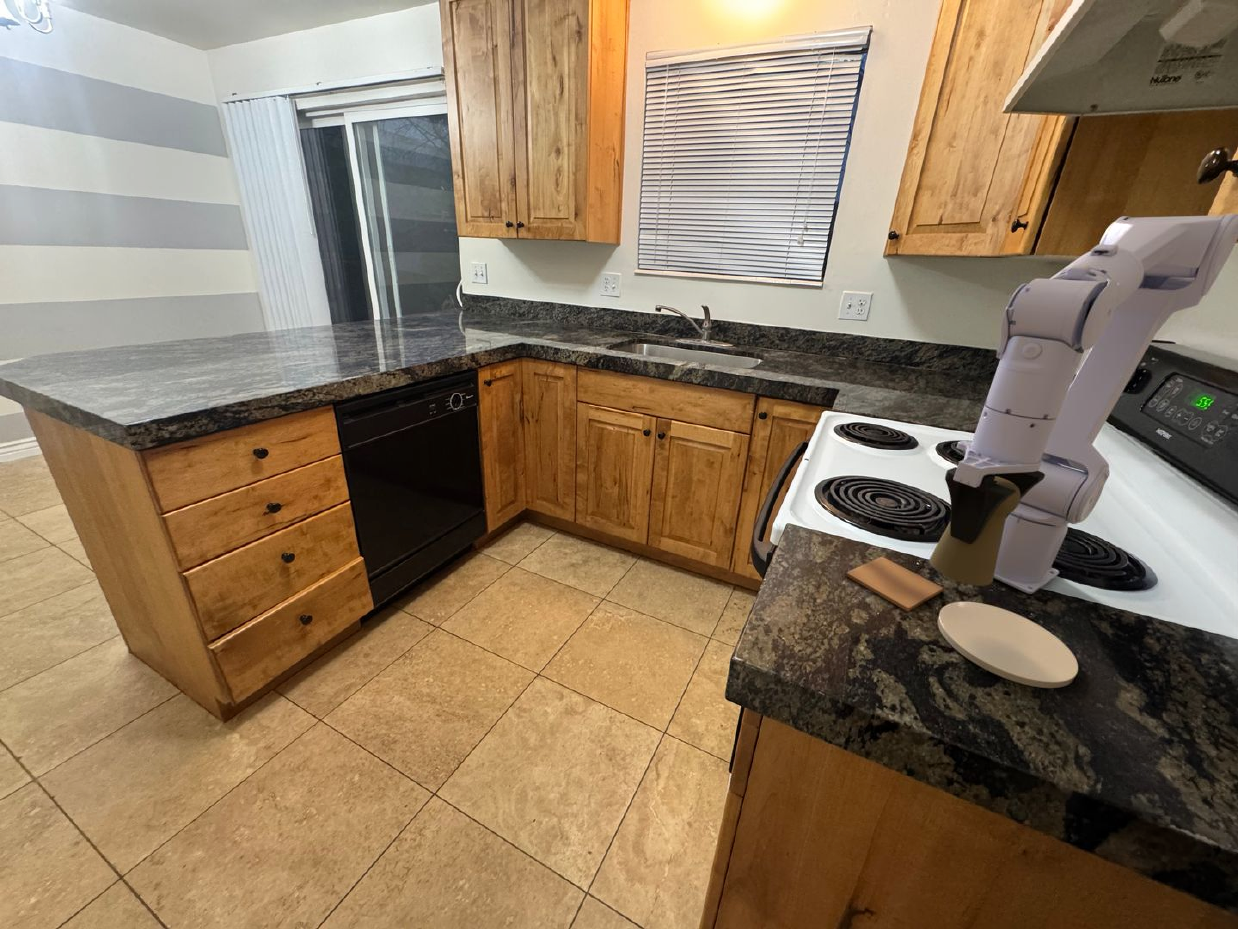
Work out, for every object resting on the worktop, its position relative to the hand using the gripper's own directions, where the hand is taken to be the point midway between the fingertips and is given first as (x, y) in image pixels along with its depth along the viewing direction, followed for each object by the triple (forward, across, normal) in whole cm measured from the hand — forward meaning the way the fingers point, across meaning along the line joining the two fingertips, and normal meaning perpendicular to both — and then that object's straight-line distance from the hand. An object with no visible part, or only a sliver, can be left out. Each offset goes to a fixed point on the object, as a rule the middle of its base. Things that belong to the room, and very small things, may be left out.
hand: (973, 533), depth 53 cm
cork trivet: (+10, 0, -6) cm, 12 cm away
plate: (+10, 0, +6) cm, 12 cm away
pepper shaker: (+5, 0, 0) cm, 5 cm away
